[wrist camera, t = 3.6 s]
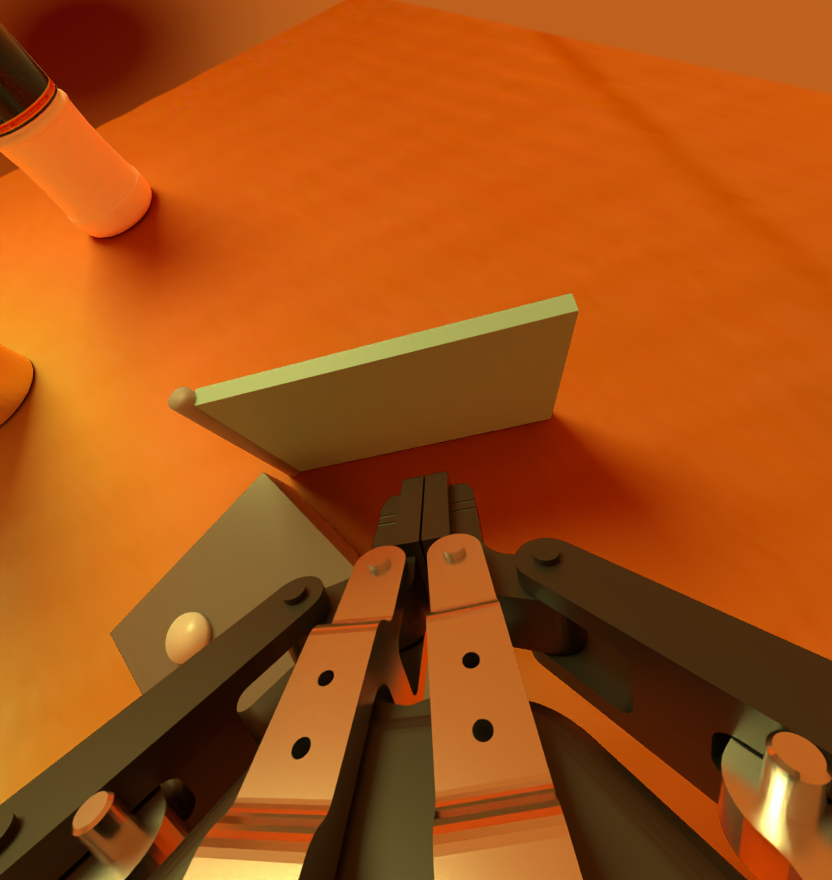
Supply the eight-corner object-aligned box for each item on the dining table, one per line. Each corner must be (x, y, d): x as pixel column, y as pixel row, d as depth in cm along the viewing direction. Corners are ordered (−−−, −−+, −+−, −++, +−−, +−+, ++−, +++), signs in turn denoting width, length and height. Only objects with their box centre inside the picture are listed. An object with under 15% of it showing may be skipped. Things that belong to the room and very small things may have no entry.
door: (285, 477, 27) (166, 412, 17) (286, 462, 27) (170, 389, 18) (551, 422, 24) (580, 309, 15) (546, 405, 25) (571, 286, 15)
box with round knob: (160, 628, 25) (103, 633, 21) (292, 487, 26) (259, 470, 23) (398, 1021, 16) (367, 1142, 12) (569, 770, 18) (585, 812, 14)
